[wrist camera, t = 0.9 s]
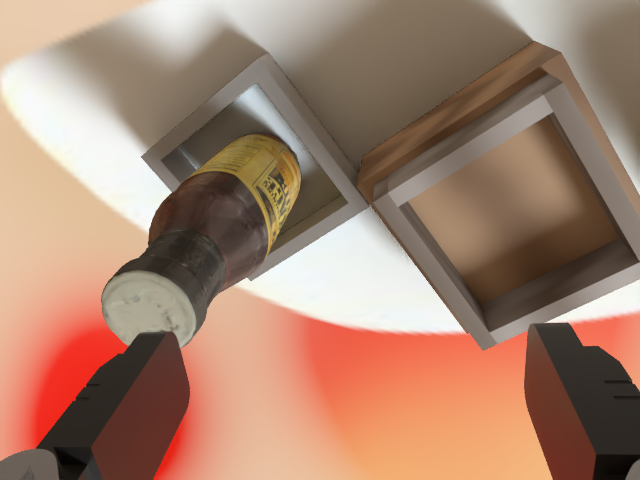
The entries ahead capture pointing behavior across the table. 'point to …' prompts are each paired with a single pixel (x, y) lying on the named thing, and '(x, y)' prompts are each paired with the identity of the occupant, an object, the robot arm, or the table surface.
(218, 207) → the sauce bottle
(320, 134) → the low holder
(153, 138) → the table surface
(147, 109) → the table surface
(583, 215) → the walnut dock
